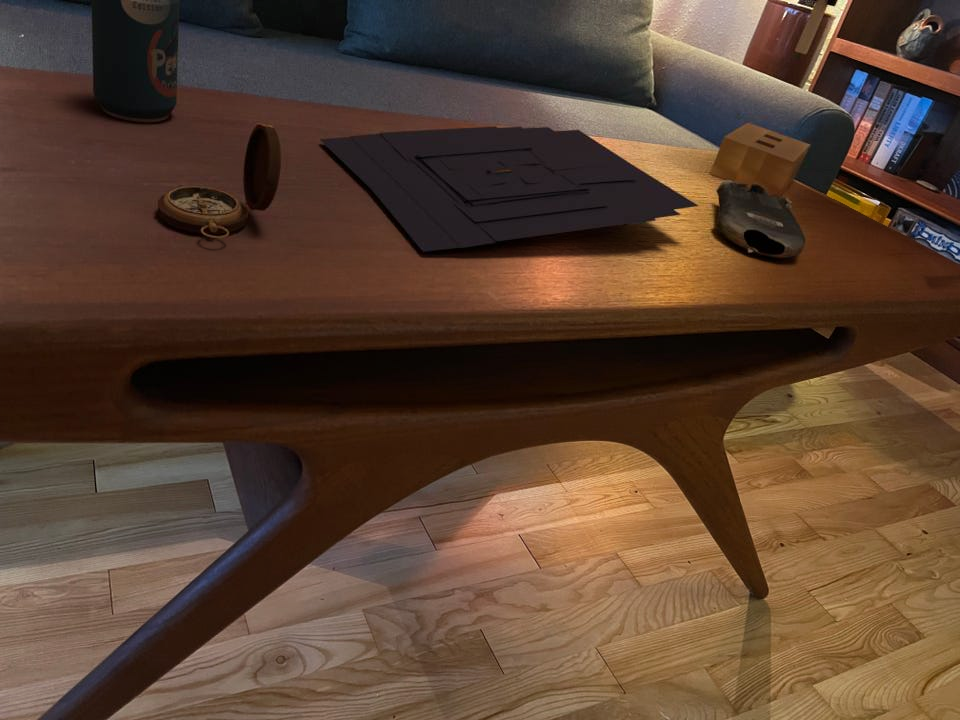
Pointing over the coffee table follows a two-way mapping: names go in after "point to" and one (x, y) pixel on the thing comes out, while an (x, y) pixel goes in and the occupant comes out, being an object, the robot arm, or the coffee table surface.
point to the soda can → (135, 57)
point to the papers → (502, 183)
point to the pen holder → (759, 158)
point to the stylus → (811, 28)
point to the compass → (219, 208)
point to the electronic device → (758, 220)
